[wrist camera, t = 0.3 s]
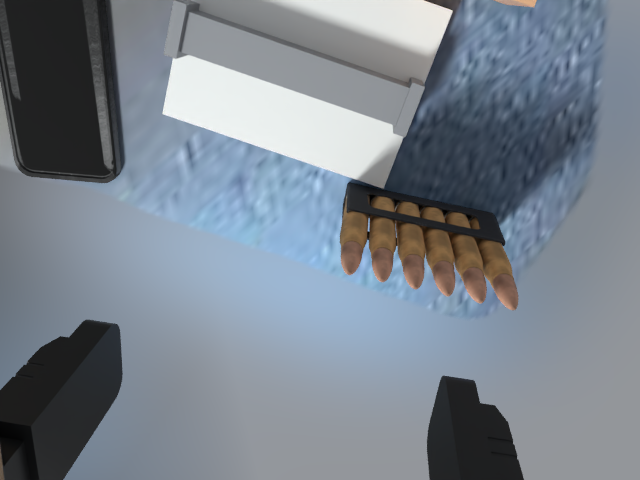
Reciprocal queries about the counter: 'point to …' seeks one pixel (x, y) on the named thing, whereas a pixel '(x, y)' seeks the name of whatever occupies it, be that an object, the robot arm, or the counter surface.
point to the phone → (59, 89)
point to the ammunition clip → (426, 242)
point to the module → (518, 2)
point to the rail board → (301, 113)
